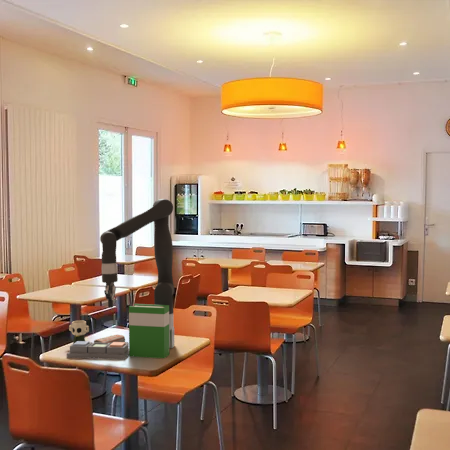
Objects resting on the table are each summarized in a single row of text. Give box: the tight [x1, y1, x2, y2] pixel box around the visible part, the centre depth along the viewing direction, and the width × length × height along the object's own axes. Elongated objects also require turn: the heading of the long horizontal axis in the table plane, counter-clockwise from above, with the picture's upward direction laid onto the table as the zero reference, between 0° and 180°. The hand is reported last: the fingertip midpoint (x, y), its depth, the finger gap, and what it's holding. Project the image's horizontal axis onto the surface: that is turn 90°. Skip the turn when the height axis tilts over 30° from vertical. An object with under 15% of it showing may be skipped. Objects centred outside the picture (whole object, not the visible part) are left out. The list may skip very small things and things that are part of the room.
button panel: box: [66, 341, 129, 360], centre depth 283 cm, size 28×12×5 cm, turn 85°
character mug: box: [68, 320, 90, 344], centre depth 298 cm, size 11×7×13 cm, turn 75°
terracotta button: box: [110, 341, 126, 347], centre depth 282 cm, size 6×6×2 cm
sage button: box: [94, 344, 107, 347], centre depth 283 cm, size 6×6×2 cm
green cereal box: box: [128, 303, 170, 359], centre depth 282 cm, size 18×7×24 cm, turn 77°
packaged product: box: [93, 334, 129, 344], centre depth 301 cm, size 18×5×10 cm
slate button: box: [72, 340, 90, 346], centre depth 284 cm, size 6×6×2 cm
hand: (110, 307), depth 289 cm, fingers closed
